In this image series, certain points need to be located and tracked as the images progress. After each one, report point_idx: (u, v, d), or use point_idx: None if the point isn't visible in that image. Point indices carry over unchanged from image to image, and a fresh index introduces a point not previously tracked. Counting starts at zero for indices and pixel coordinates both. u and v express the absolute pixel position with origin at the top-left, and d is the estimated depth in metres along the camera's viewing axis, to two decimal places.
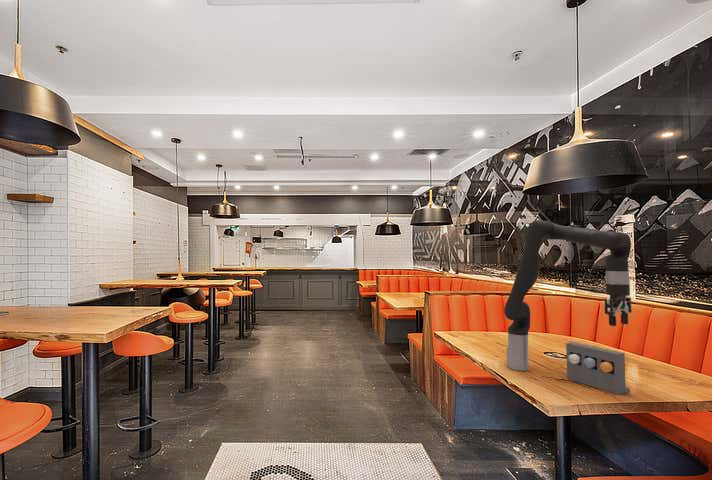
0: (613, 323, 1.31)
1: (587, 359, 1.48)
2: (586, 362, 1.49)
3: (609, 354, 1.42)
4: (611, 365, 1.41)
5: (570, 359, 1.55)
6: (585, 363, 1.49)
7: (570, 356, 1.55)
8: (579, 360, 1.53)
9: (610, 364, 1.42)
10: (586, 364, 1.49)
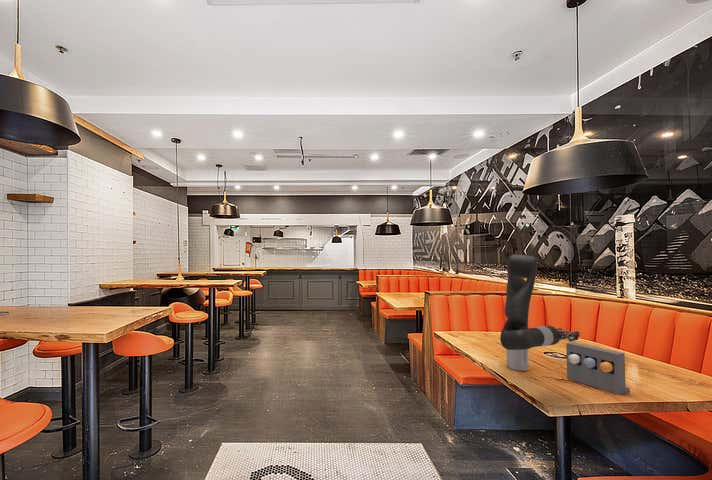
0: None
1: (587, 359, 1.48)
2: (586, 362, 1.49)
3: (609, 354, 1.42)
4: (611, 365, 1.41)
5: (570, 359, 1.55)
6: (585, 363, 1.49)
7: (570, 356, 1.55)
8: (579, 360, 1.53)
9: (610, 364, 1.42)
10: (586, 364, 1.49)
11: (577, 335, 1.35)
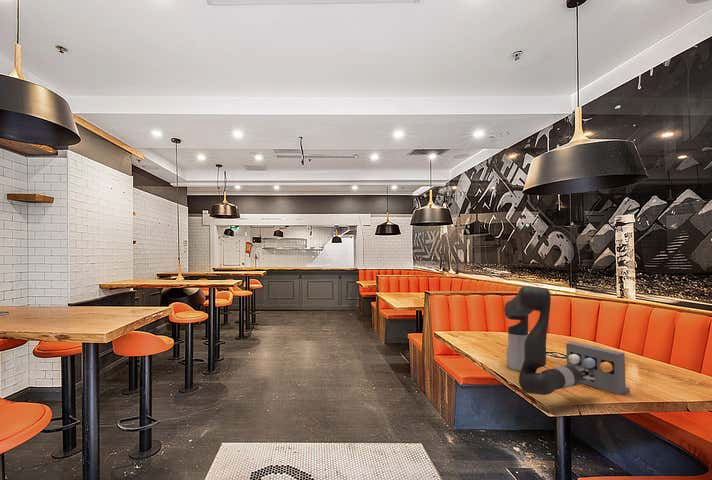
0: None
1: (587, 359, 1.48)
2: (586, 362, 1.49)
3: (609, 354, 1.42)
4: (611, 365, 1.41)
5: (570, 359, 1.55)
6: (585, 363, 1.49)
7: (570, 356, 1.55)
8: (579, 360, 1.53)
9: (610, 364, 1.42)
10: (586, 364, 1.49)
11: None
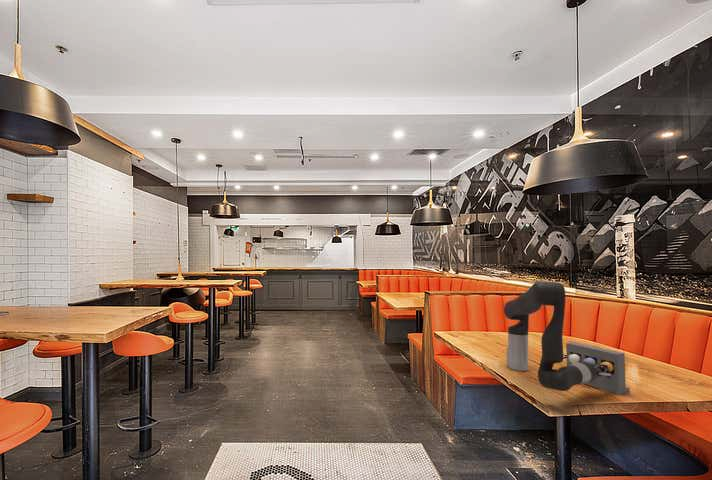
0: None
1: (587, 359, 1.48)
2: None
3: (609, 354, 1.42)
4: (612, 365, 1.42)
5: (570, 359, 1.55)
6: None
7: (570, 356, 1.55)
8: (579, 360, 1.53)
9: (611, 364, 1.42)
10: None
11: None
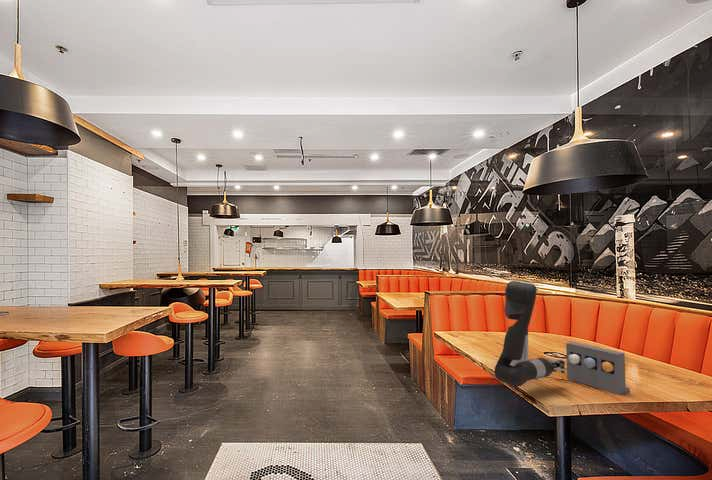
0: None
1: (587, 359, 1.48)
2: (586, 362, 1.49)
3: (609, 354, 1.42)
4: (613, 365, 1.42)
5: (570, 359, 1.55)
6: (585, 363, 1.49)
7: (570, 356, 1.55)
8: (579, 360, 1.53)
9: (612, 364, 1.42)
10: (586, 364, 1.49)
11: None
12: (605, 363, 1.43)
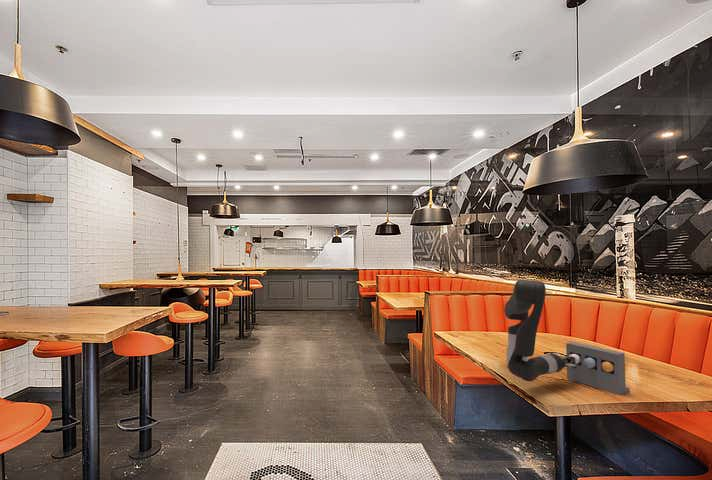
0: None
1: (587, 359, 1.48)
2: (586, 362, 1.49)
3: (609, 354, 1.42)
4: (613, 365, 1.42)
5: None
6: (585, 363, 1.49)
7: None
8: (579, 360, 1.53)
9: (612, 364, 1.42)
10: (586, 364, 1.49)
11: None
12: (605, 363, 1.43)
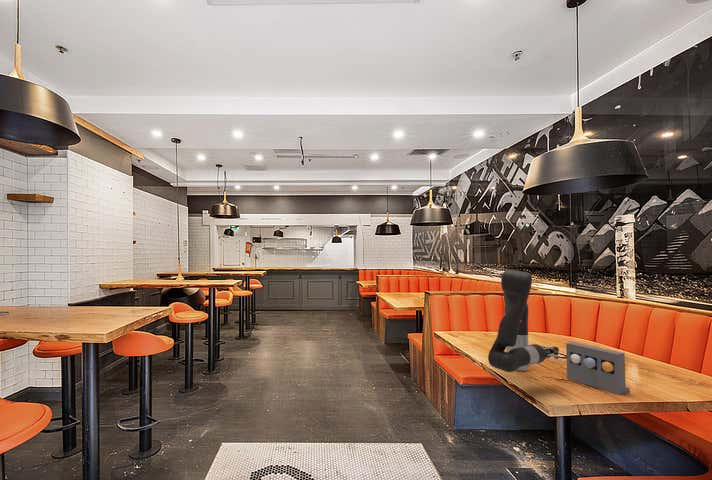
0: None
1: (587, 359, 1.48)
2: (586, 362, 1.49)
3: (609, 354, 1.42)
4: (613, 365, 1.42)
5: (572, 359, 1.55)
6: (585, 363, 1.49)
7: (572, 356, 1.55)
8: None
9: (612, 364, 1.42)
10: (586, 364, 1.49)
11: None
12: (605, 363, 1.43)
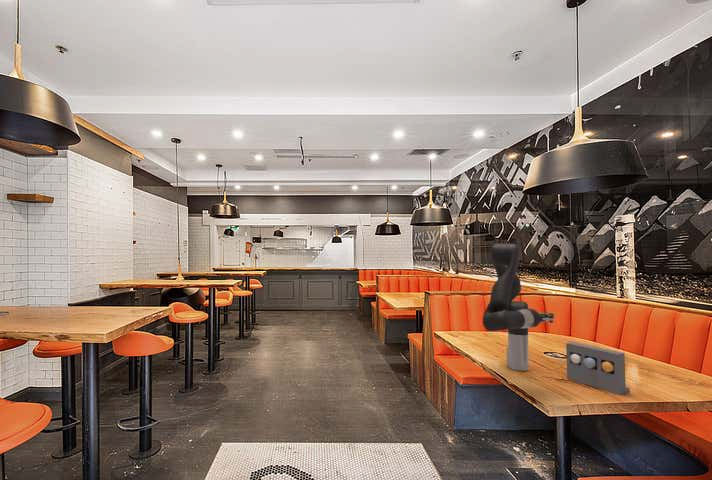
0: None
1: (587, 359, 1.48)
2: (586, 362, 1.49)
3: (609, 354, 1.42)
4: (613, 365, 1.42)
5: (572, 359, 1.55)
6: (585, 363, 1.49)
7: (572, 356, 1.55)
8: None
9: (612, 364, 1.42)
10: (586, 364, 1.49)
11: None
12: (605, 363, 1.43)
